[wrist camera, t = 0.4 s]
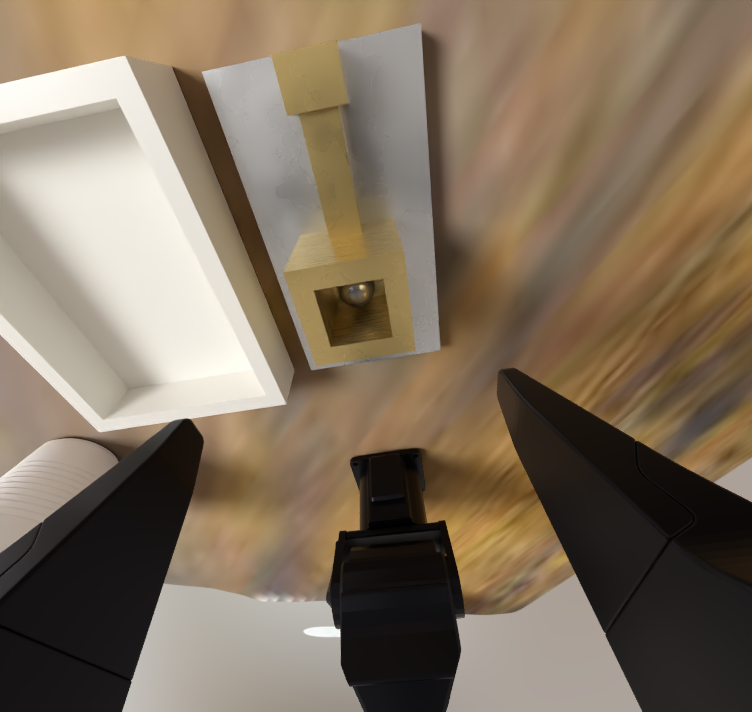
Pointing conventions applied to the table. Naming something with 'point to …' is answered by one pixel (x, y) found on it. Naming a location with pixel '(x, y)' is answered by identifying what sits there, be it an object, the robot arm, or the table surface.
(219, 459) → the table surface
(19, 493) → the cup
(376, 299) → the strut
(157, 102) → the bin
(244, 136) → the stud plate
